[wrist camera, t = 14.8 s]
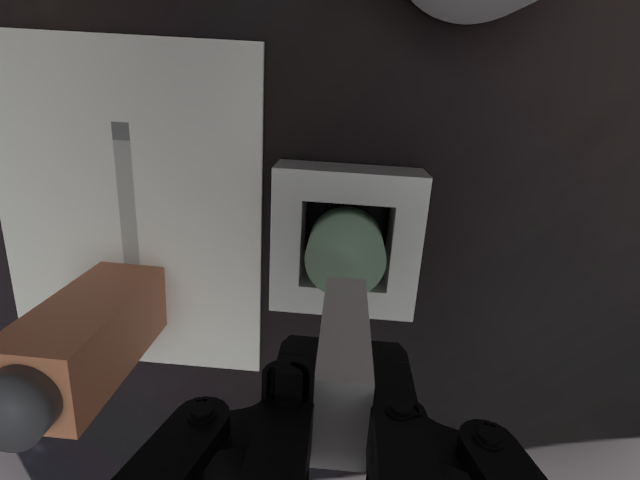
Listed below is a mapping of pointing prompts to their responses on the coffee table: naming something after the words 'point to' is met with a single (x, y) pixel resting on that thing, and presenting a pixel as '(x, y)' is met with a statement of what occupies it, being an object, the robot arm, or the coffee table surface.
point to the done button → (345, 247)
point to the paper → (139, 177)
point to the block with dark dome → (76, 351)
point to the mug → (470, 9)
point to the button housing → (357, 189)
